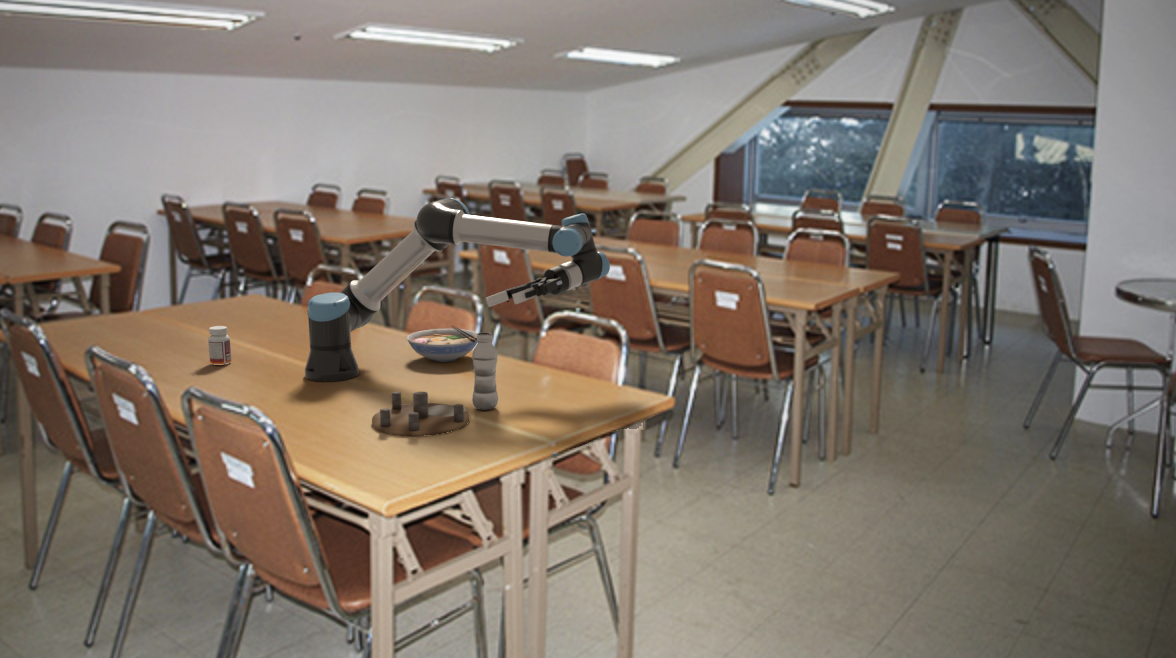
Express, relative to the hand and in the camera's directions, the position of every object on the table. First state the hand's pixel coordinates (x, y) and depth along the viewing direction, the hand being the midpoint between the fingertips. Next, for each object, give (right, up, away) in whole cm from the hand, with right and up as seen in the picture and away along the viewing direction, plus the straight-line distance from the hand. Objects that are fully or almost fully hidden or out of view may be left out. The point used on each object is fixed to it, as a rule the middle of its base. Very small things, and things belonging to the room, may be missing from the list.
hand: (500, 300), depth 274 cm
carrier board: (-18, -31, -18) cm, 40 cm away
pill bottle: (-88, -18, +37) cm, 98 cm away
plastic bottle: (-3, -28, -8) cm, 30 cm away
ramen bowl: (-21, -17, +44) cm, 52 cm away
